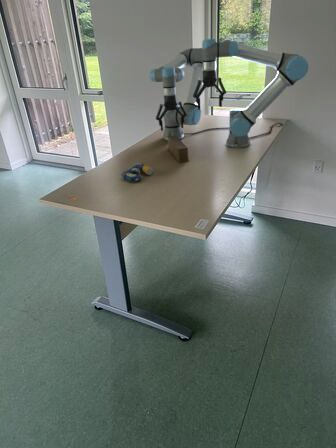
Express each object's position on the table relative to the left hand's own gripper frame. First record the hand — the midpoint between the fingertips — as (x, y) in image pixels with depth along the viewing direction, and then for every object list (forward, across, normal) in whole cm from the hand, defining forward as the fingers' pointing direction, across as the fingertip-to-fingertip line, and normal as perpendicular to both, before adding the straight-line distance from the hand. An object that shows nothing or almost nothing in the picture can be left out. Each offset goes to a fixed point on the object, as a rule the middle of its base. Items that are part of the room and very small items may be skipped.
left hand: (172, 129), depth 218 cm
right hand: (-14, +21, -14) cm, 29 cm away
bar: (+14, 0, -10) cm, 17 cm away
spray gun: (+15, -30, -34) cm, 47 cm away
